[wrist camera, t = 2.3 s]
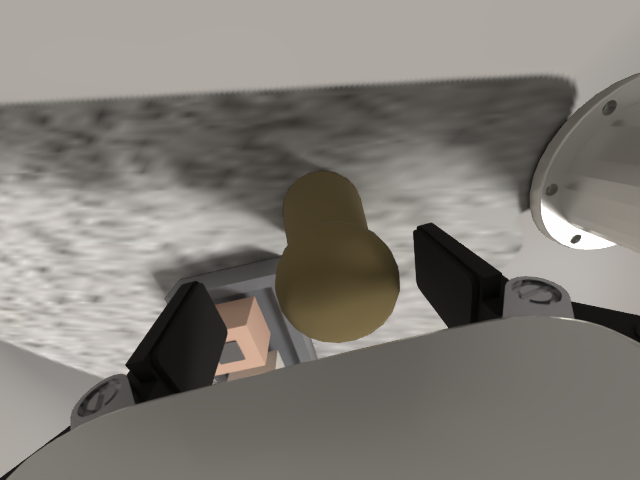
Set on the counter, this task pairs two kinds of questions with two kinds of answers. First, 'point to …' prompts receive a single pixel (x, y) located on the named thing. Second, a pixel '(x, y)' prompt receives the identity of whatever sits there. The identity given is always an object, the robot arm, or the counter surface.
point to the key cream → (271, 364)
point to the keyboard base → (261, 285)
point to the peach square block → (243, 336)
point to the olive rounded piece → (333, 263)
